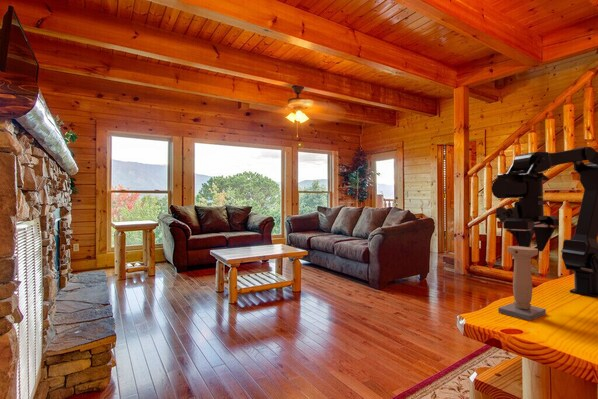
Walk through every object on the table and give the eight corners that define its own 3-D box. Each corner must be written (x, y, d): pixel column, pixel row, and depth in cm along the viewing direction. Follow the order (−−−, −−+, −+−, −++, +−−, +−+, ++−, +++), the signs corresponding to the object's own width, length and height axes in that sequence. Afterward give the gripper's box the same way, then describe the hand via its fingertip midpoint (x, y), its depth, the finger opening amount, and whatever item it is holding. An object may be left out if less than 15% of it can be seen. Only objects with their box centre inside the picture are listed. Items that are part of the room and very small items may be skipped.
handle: (530, 313, 78) (530, 250, 77) (503, 305, 83) (503, 247, 83) (542, 310, 80) (542, 249, 80) (515, 302, 86) (514, 245, 85)
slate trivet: (515, 306, 86) (515, 301, 86) (545, 313, 80) (545, 309, 80) (498, 312, 82) (498, 307, 82) (529, 320, 76) (529, 315, 76)
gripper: (516, 197, 104) (518, 246, 104) (483, 198, 94) (484, 253, 94) (558, 196, 94) (560, 250, 94) (525, 198, 85) (527, 258, 84)
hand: (532, 252), depth 92 cm, fingers open, 9 cm apart
